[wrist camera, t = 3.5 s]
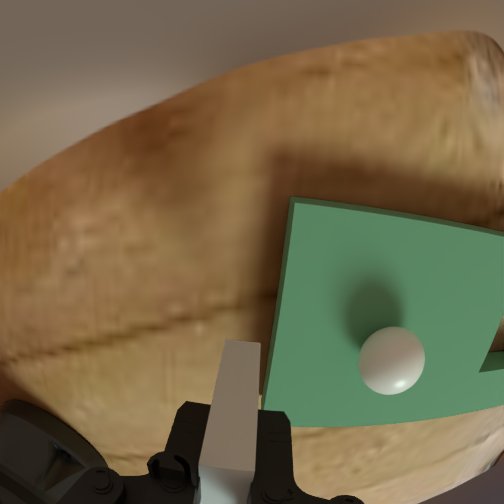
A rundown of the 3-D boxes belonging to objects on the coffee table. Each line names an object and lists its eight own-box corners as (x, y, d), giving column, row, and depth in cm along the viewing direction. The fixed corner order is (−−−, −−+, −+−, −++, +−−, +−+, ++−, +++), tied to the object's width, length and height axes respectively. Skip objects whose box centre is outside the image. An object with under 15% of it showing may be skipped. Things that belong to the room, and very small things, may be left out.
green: (261, 399, 21) (260, 424, 18) (290, 195, 17) (294, 202, 14) (507, 385, 21) (519, 400, 18) (560, 246, 17) (579, 254, 14)
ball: (344, 367, 17) (358, 410, 13) (360, 312, 16) (381, 351, 12) (398, 367, 17) (420, 406, 13) (417, 315, 16) (446, 350, 12)
